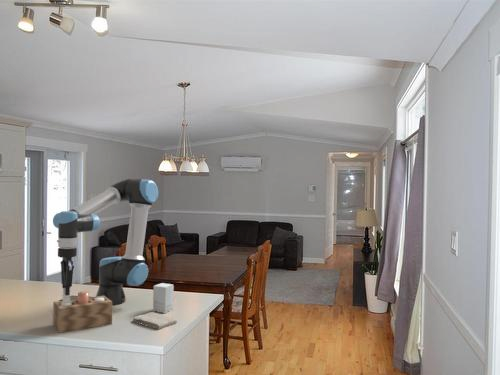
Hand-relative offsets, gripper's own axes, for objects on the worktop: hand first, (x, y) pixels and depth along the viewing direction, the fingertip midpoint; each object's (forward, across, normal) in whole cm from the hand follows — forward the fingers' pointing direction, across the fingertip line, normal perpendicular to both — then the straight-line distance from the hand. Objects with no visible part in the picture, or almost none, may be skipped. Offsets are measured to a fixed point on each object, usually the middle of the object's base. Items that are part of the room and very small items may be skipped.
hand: (66, 302), depth 196 cm
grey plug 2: (+9, 0, +14) cm, 17 cm away
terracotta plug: (+6, 0, +7) cm, 9 cm away
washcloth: (+12, +13, +35) cm, 39 cm away
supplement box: (+11, -2, +46) cm, 47 cm away
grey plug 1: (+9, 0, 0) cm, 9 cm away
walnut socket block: (+11, 0, +7) cm, 13 cm away
